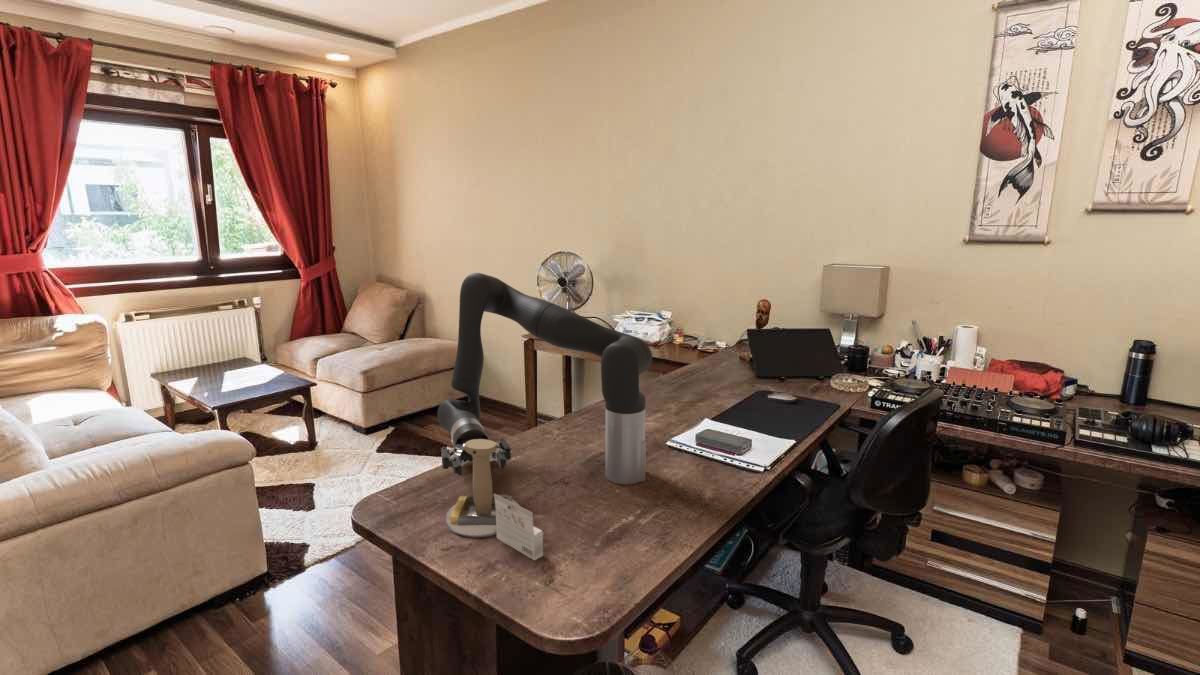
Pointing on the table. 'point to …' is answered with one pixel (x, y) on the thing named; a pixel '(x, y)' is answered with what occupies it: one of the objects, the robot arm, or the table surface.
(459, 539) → the table surface
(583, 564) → the table surface
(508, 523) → the ink cartridge box
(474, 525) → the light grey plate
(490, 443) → the handle
